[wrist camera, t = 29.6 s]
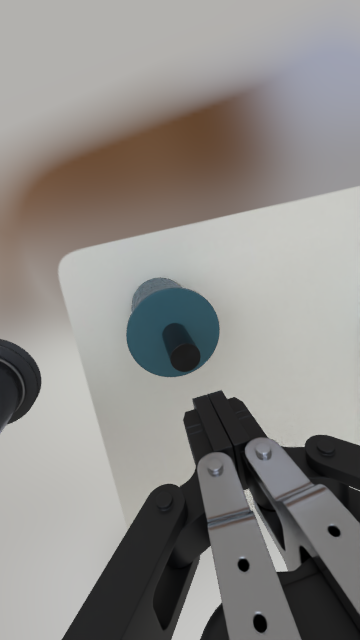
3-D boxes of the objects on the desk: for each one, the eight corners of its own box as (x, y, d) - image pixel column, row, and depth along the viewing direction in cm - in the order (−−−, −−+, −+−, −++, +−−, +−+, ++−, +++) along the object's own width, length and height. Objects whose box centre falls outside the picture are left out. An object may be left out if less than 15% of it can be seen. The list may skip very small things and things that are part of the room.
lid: (140, 381, 26) (143, 423, 20) (115, 298, 23) (110, 318, 17) (222, 357, 26) (248, 390, 21) (207, 275, 24) (232, 286, 18)
